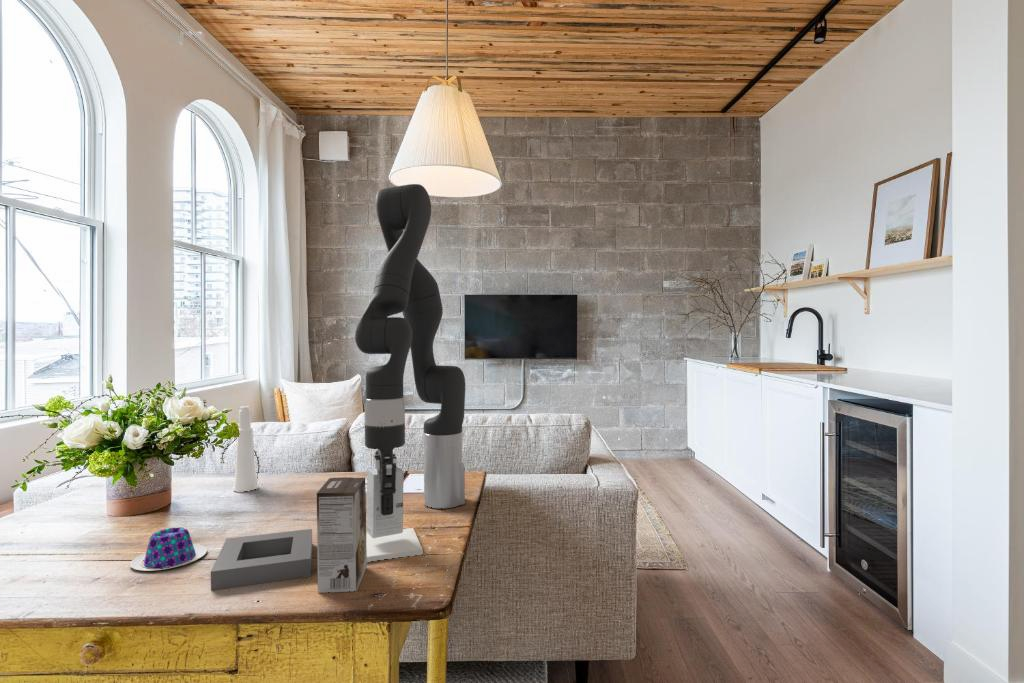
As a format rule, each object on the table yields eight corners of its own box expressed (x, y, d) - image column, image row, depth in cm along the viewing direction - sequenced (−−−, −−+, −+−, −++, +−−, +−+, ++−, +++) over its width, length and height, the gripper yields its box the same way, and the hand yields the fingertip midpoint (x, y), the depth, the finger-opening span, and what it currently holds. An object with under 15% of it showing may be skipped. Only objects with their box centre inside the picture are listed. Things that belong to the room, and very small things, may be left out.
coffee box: (330, 569, 95) (329, 477, 95) (367, 567, 96) (366, 476, 95) (315, 594, 86) (314, 492, 86) (357, 592, 87) (356, 491, 86)
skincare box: (373, 539, 101) (373, 474, 101) (365, 531, 105) (365, 469, 105) (404, 532, 105) (404, 470, 104) (396, 525, 108) (396, 465, 108)
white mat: (412, 532, 112) (412, 527, 112) (422, 554, 101) (422, 549, 101) (352, 540, 109) (352, 535, 109) (355, 563, 97) (355, 558, 97)
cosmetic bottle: (262, 488, 146) (262, 405, 145) (241, 493, 141) (240, 408, 140) (249, 484, 149) (248, 404, 149) (228, 490, 144) (227, 407, 144)
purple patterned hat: (180, 543, 108) (180, 517, 108) (221, 553, 103) (221, 526, 103) (114, 567, 97) (114, 538, 97) (157, 580, 92) (156, 549, 92)
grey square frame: (312, 544, 107) (312, 528, 107) (310, 576, 92) (310, 558, 92) (226, 554, 102) (226, 538, 102) (210, 590, 88) (210, 571, 87)
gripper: (410, 426, 99) (410, 519, 99) (399, 415, 113) (400, 497, 113) (367, 428, 97) (368, 524, 97) (362, 417, 110) (362, 501, 110)
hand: (385, 509), depth 105 cm, fingers closed on skincare box, 5 cm apart
